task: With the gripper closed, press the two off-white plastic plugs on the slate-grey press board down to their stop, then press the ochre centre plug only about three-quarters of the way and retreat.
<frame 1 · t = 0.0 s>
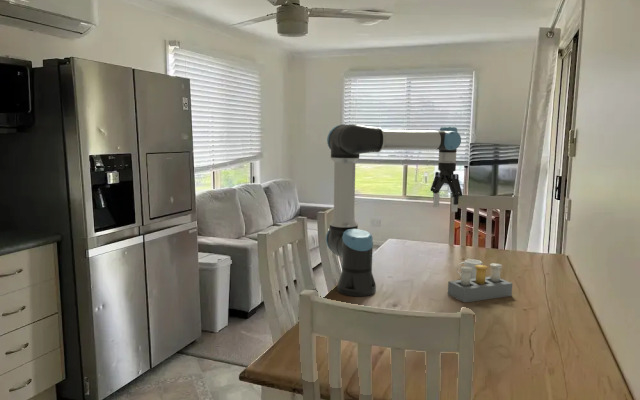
hand: (444, 209, 209), 28 cm above the table, fingers open, 13 cm apart
far plug: (495, 273, 181), point 8 cm above the table, slide at 0.0 cm
cup: (468, 279, 200), on the table
ochre plug: (480, 274, 179), point 8 cm above the table, slide at 0.0 cm
press board: (479, 294, 180), on the table
near plug: (465, 276, 176), point 8 cm above the table, slide at 0.0 cm
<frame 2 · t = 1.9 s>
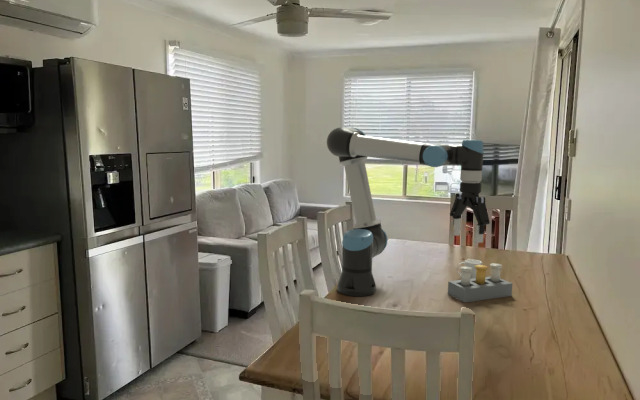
hand: (467, 238, 175), 22 cm above the table, fingers open, 12 cm apart
nothing on the table moved.
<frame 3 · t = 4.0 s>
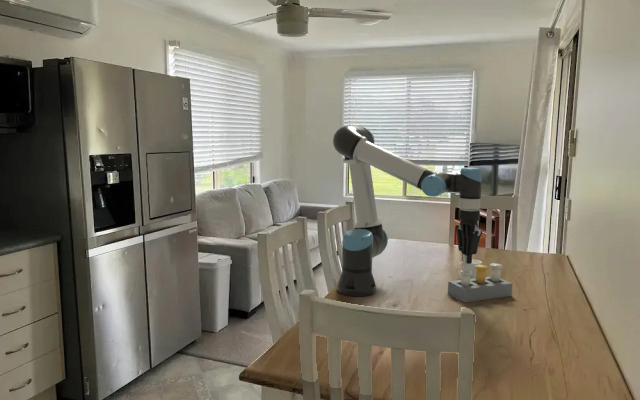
hand: (466, 271, 176), 10 cm above the table, fingers closed
near plug: (465, 280, 176), point 7 cm above the table, slide at 1.4 cm, touching gripper
everything else where it was.
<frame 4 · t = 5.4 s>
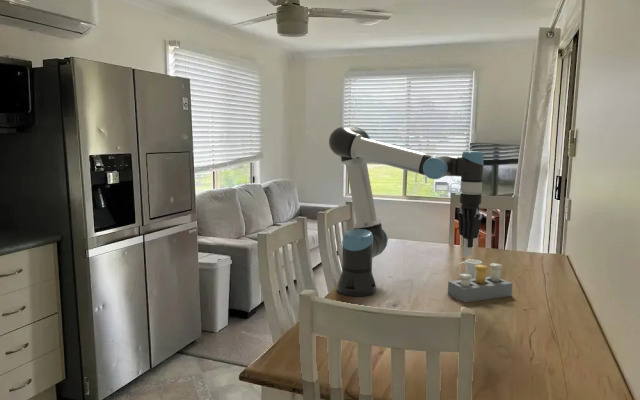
hand: (467, 255, 175), 16 cm above the table, fingers closed
near plug: (465, 283, 177), point 5 cm above the table, slide at 2.9 cm
everything else where it was.
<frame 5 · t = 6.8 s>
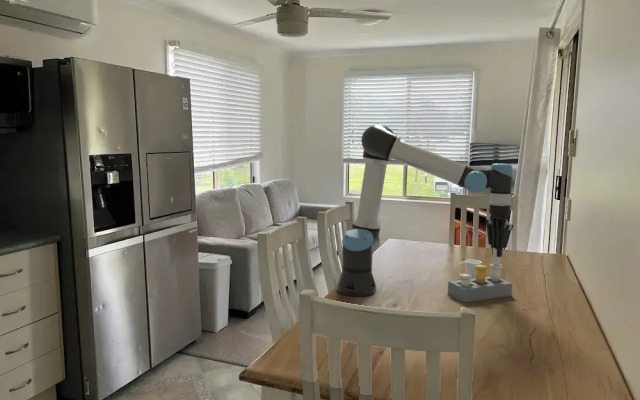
hand: (496, 264, 181), 12 cm above the table, fingers closed
far plug: (495, 273, 181), point 8 cm above the table, slide at 0.0 cm, touching gripper
everything else where it was.
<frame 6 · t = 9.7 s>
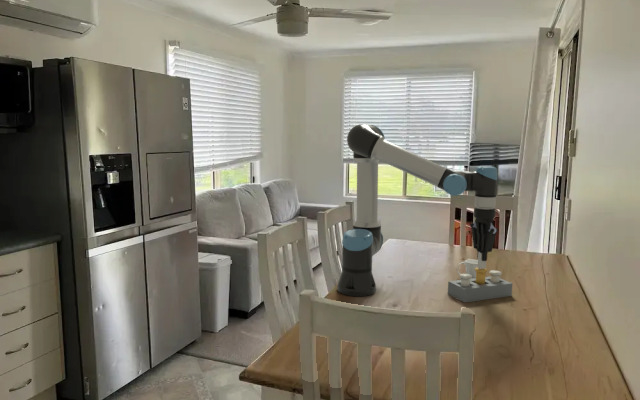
hand: (481, 268, 178), 11 cm above the table, fingers closed
far plug: (494, 280, 182), point 5 cm above the table, slide at 2.9 cm
ochre plug: (480, 277, 179), point 7 cm above the table, slide at 1.0 cm, touching gripper
everything else where it was.
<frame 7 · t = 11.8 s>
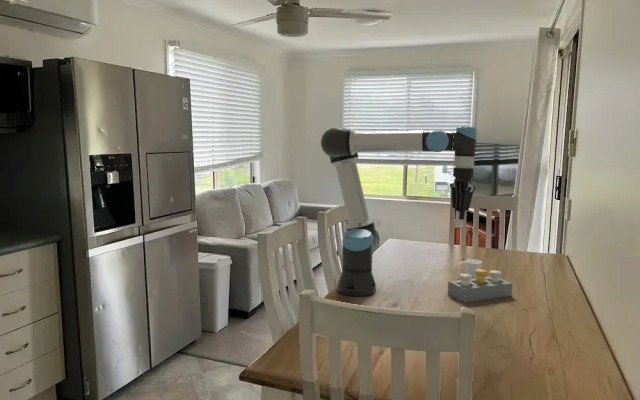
hand: (458, 227, 182), 25 cm above the table, fingers closed
ochre plug: (480, 279, 179), point 6 cm above the table, slide at 1.8 cm
everything else where it was.
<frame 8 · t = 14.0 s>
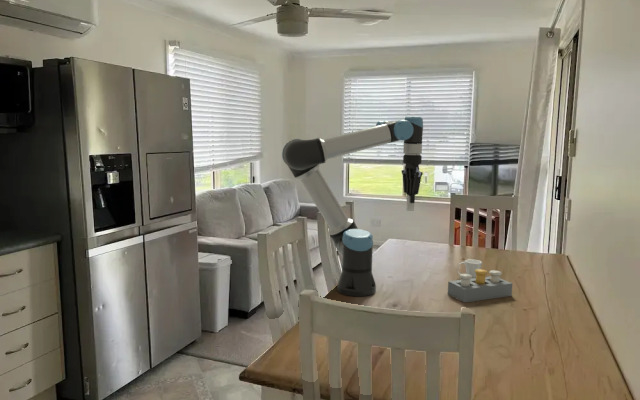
hand: (410, 210, 197), 29 cm above the table, fingers closed
nothing on the table moved.
at the end: near plug slide at 2.9 cm; far plug slide at 2.9 cm; ochre plug slide at 1.8 cm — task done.
